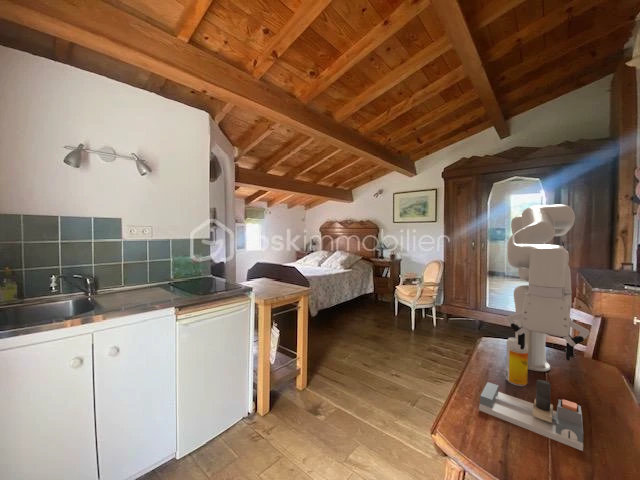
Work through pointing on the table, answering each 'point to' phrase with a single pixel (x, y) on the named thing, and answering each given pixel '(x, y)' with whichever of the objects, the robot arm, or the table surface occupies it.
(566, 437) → the rail base
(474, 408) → the table surface
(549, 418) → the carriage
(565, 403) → the button
